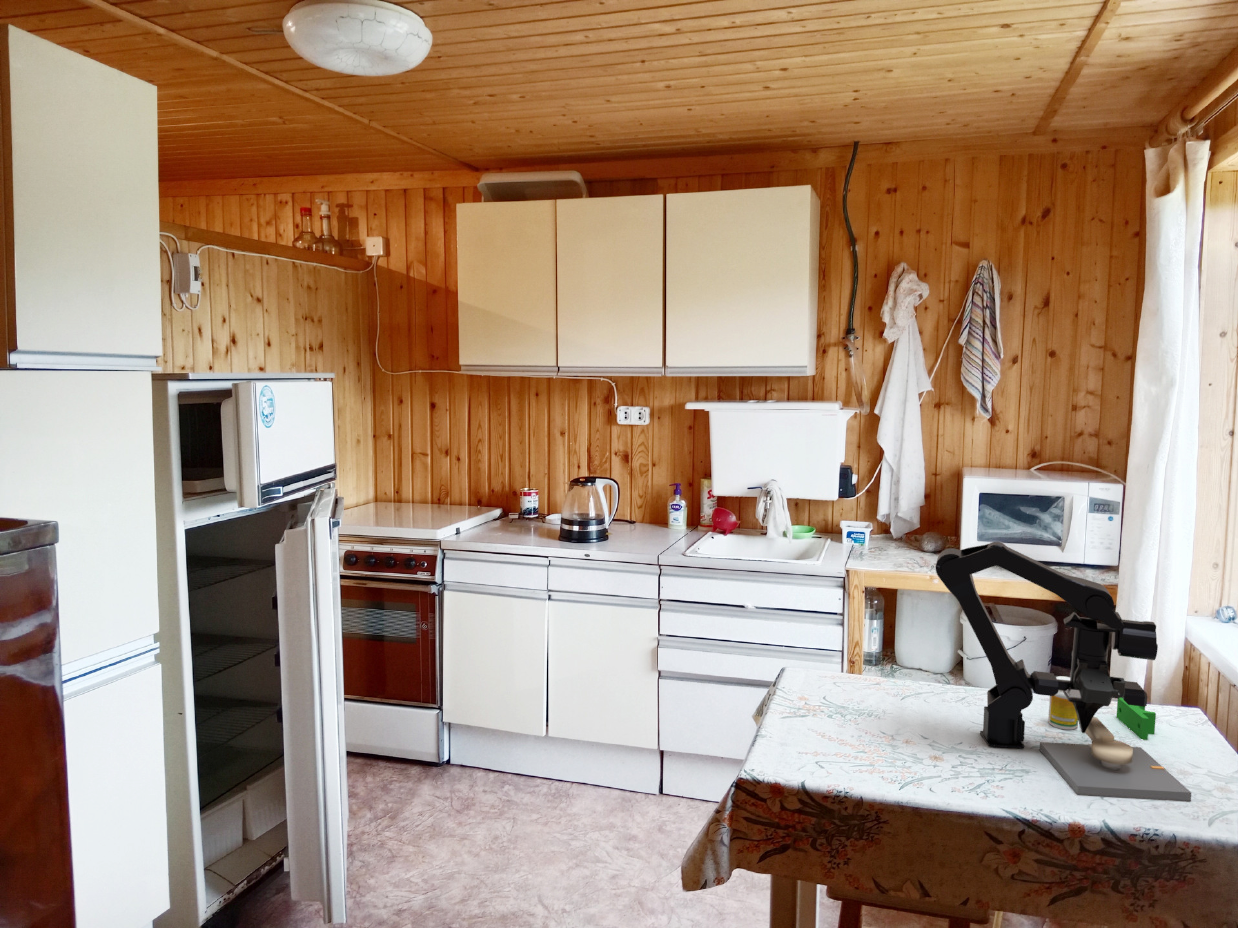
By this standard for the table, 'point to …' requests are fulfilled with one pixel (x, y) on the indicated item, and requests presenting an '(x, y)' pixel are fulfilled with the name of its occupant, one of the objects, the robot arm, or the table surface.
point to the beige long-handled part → (1107, 744)
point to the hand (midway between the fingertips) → (1082, 732)
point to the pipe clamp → (1136, 719)
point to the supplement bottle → (1062, 710)
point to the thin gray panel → (1113, 774)
